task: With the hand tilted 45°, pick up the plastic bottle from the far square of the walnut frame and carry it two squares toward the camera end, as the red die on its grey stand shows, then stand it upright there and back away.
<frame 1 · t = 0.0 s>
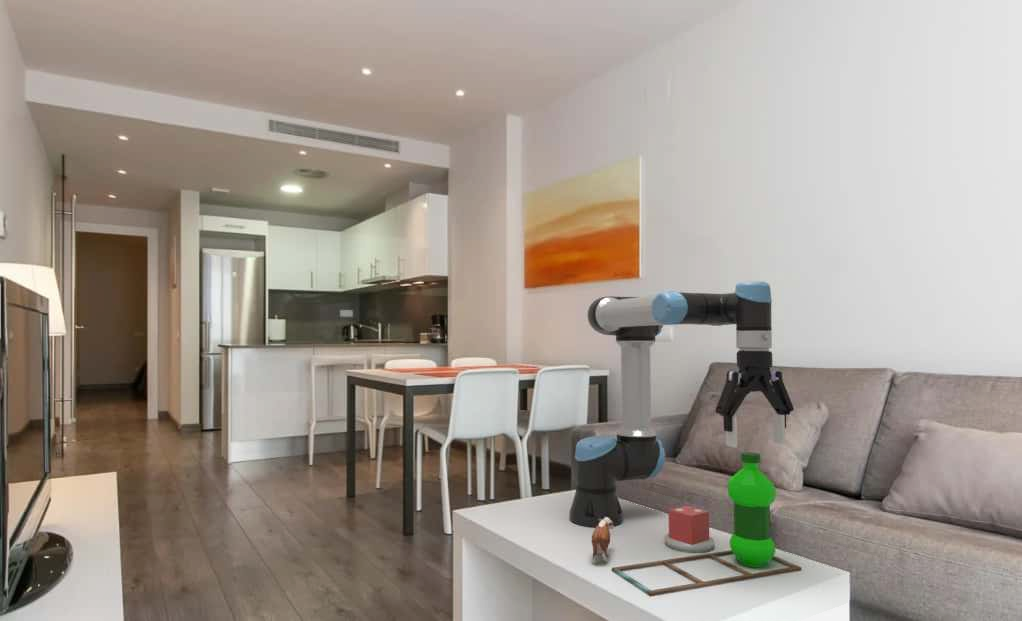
hand: (755, 445, 139), 28 cm above the table, tool pointing down, fingers open, 13 cm apart
walnut frame: (706, 570, 138), on the table
plastic bottle: (752, 563, 143), resting in walnut frame
bull figurine: (602, 558, 147), on the table
red die stand: (689, 544, 156), on the table
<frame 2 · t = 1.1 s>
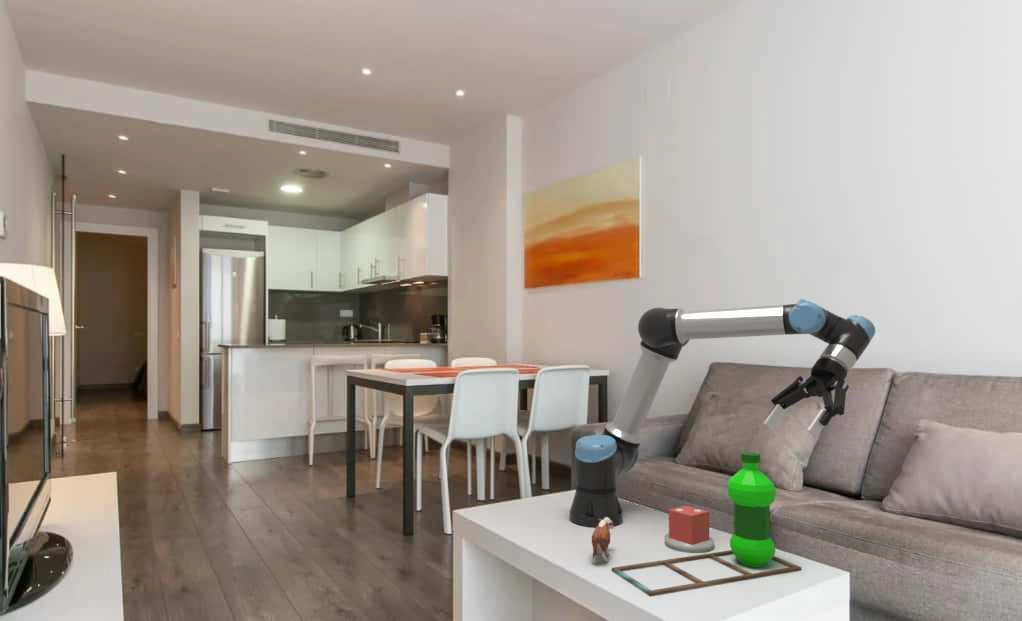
hand: (788, 430, 149), 30 cm above the table, tool tilted 45°, fingers open, 13 cm apart
nothing on the table moved.
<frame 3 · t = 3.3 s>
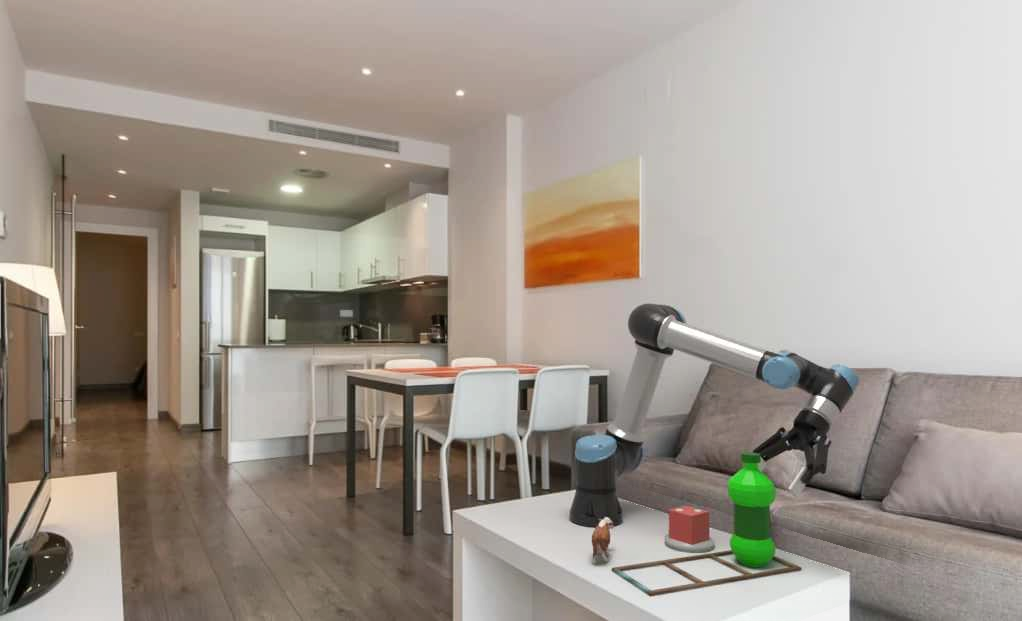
hand: (769, 486, 145), 17 cm above the table, tool tilted 45°, fingers open, 13 cm apart
nothing on the table moved.
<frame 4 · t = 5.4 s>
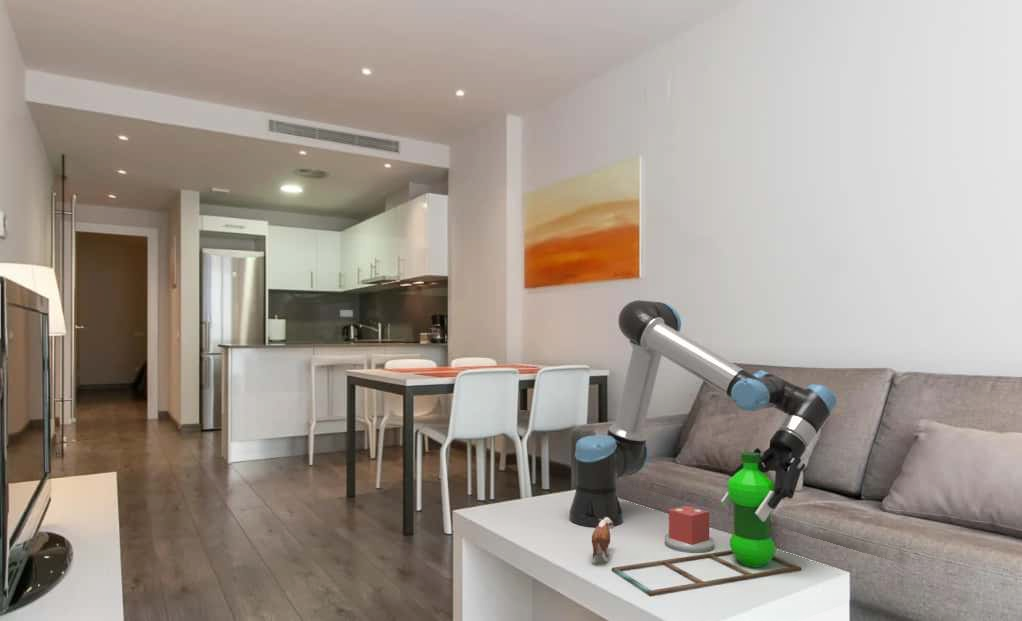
hand: (741, 511, 143), 12 cm above the table, tool tilted 45°, fingers closed on plastic bottle, 10 cm apart
plastic bottle: (752, 563, 143), resting in walnut frame, touching gripper
everything else where it was.
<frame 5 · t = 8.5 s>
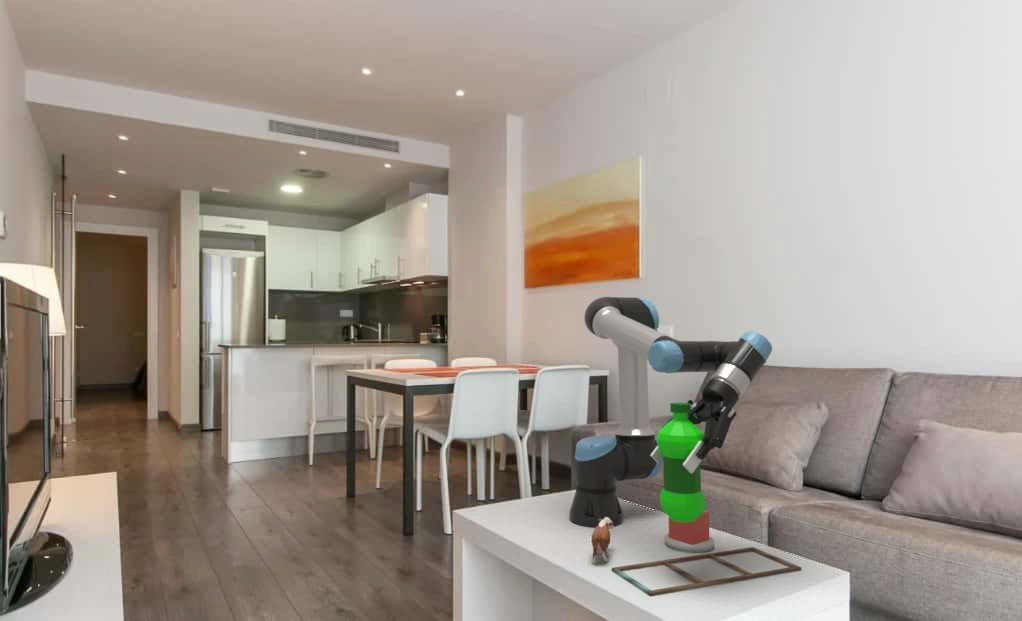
hand: (670, 464, 134), 25 cm above the table, tool tilted 45°, fingers closed on plastic bottle, 10 cm apart
plastic bottle: (682, 519, 135), point 12 cm above the table, touching gripper
everything else where it was.
when the fingers open (13 cm above the table, at t = 11.7 s): plastic bottle drops 1 cm, resting in walnut frame.
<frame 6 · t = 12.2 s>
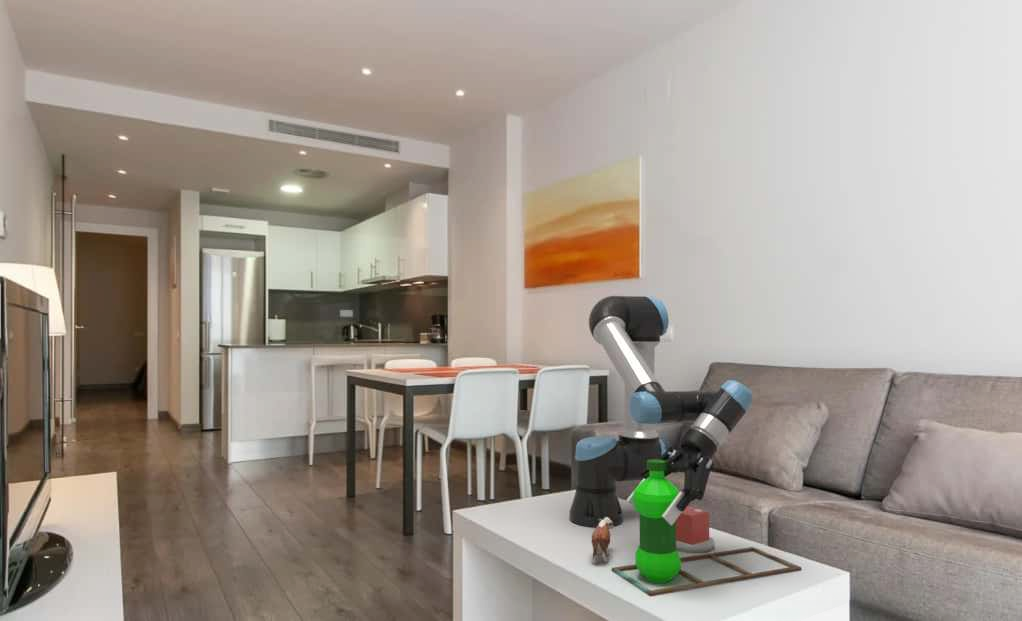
hand: (647, 512, 134), 14 cm above the table, tool tilted 45°, fingers open, 13 cm apart
plastic bottle: (658, 579, 134), resting in walnut frame
everything else where it was.
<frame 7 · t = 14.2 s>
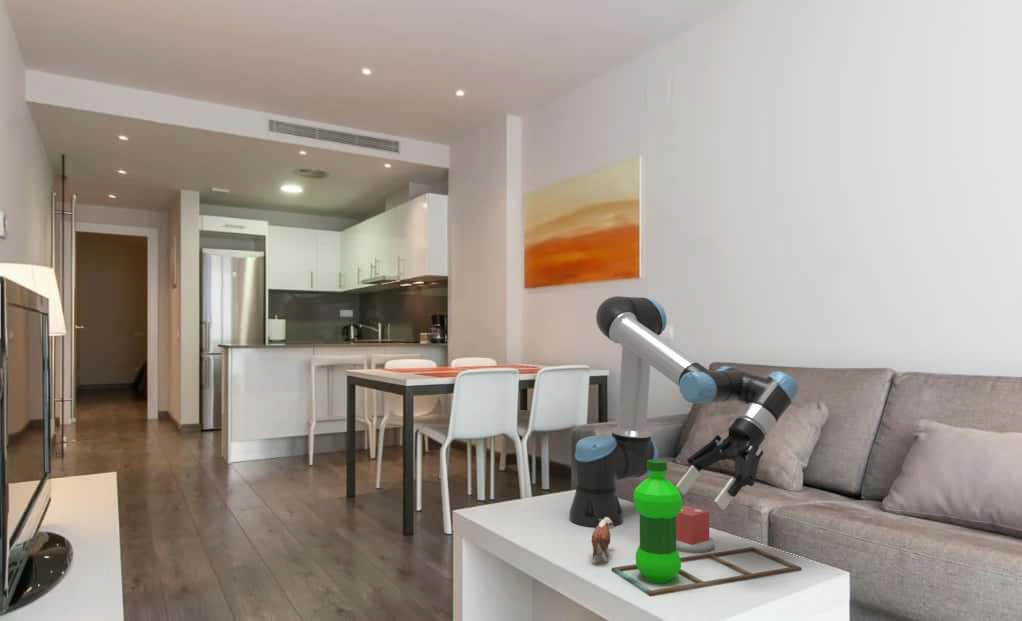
hand: (698, 497, 139), 16 cm above the table, tool tilted 45°, fingers open, 13 cm apart
nothing on the table moved.
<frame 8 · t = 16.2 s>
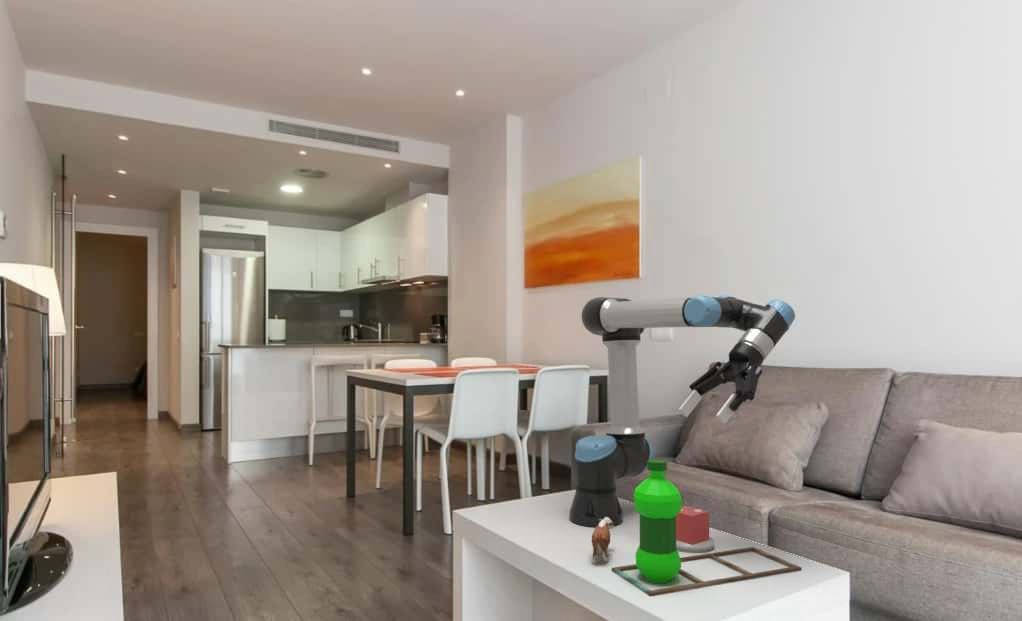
hand: (700, 416, 145), 34 cm above the table, tool tilted 45°, fingers open, 13 cm apart
nothing on the table moved.
at the end: plastic bottle inside the target area (0.1 cm from its centre), resting in walnut frame; plastic bottle tilted 0°; the gripper is holding nothing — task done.
